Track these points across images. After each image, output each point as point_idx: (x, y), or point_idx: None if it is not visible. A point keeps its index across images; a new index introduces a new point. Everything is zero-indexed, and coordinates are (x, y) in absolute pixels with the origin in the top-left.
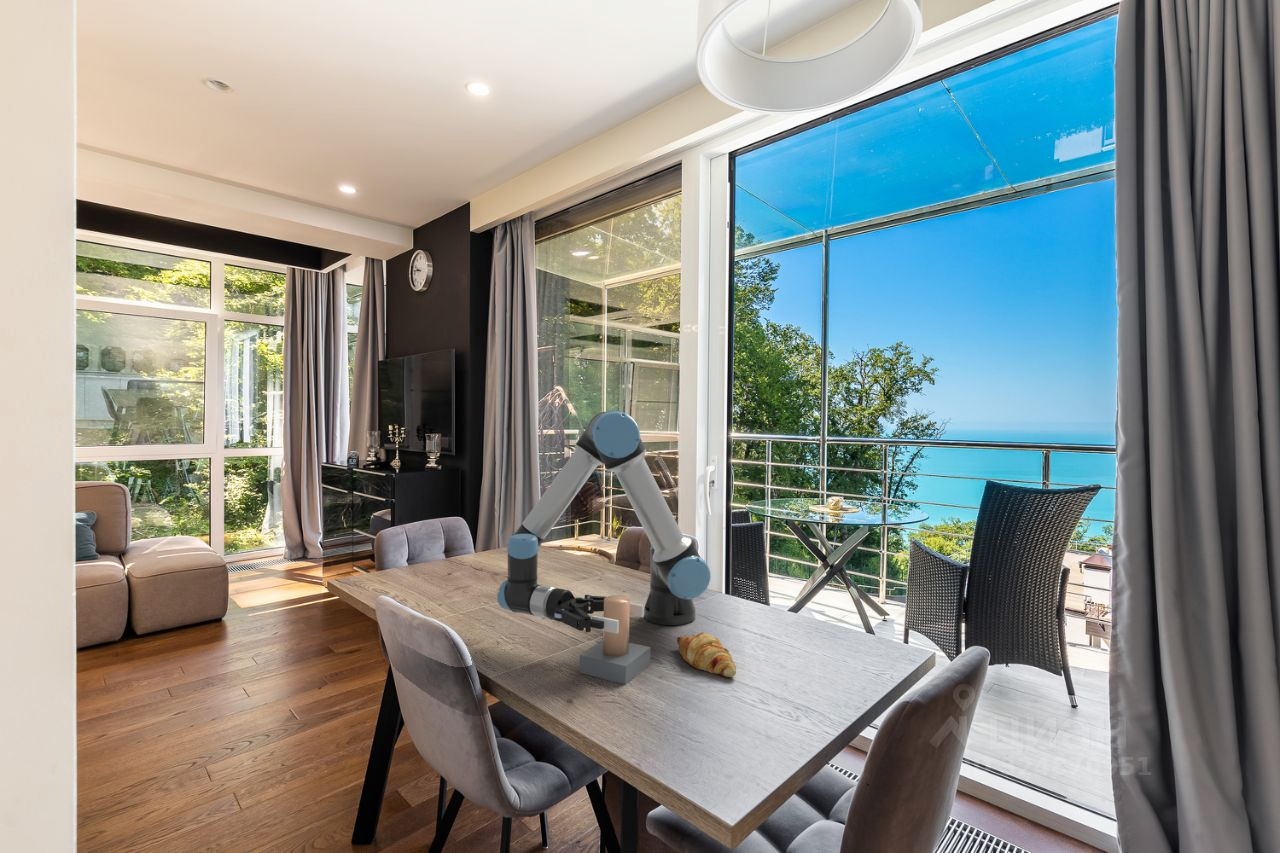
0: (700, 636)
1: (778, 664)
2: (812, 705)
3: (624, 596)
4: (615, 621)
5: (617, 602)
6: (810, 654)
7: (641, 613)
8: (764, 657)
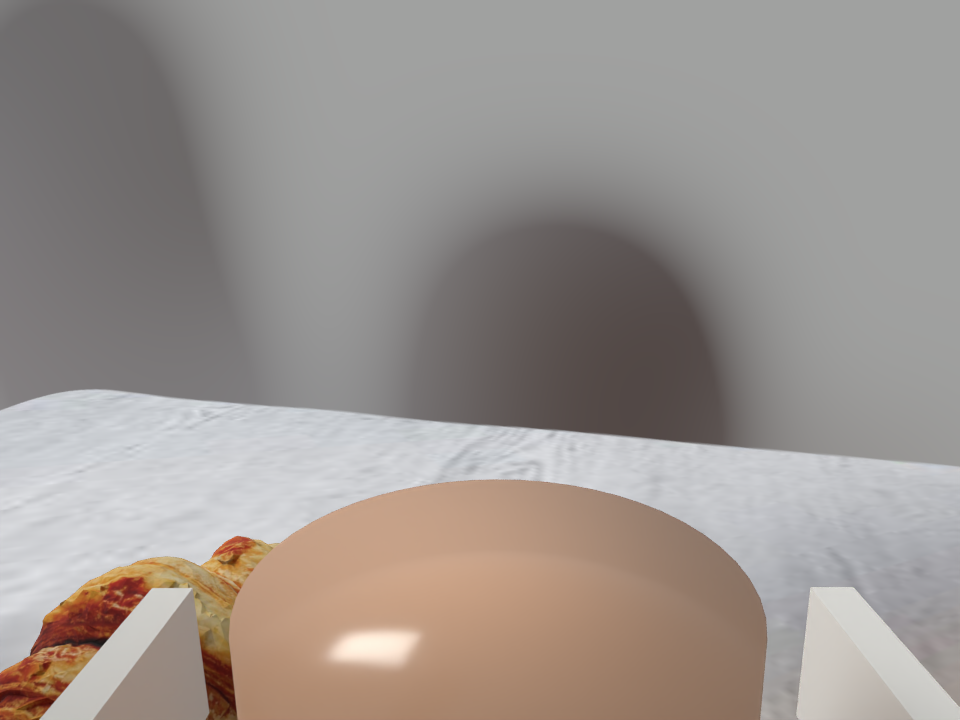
0: (169, 579)
1: (172, 524)
2: (439, 456)
3: (270, 562)
4: (863, 606)
5: (625, 533)
6: (72, 489)
7: (199, 680)
8: (101, 557)
